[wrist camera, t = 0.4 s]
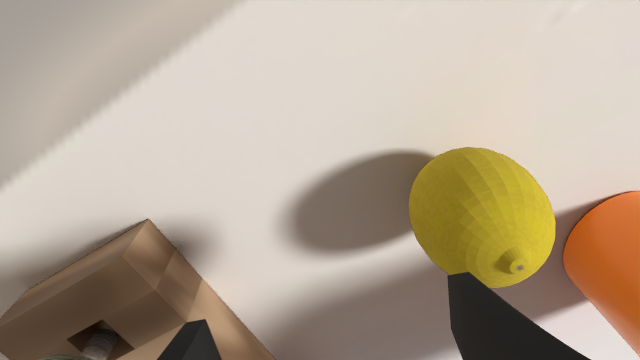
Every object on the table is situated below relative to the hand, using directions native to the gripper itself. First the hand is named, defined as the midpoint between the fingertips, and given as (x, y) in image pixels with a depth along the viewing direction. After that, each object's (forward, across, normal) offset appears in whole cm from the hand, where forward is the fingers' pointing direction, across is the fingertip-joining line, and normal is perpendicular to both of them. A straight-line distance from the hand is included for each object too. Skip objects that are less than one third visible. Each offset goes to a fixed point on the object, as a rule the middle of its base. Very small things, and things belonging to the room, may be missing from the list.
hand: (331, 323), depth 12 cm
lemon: (+10, -7, +1) cm, 12 cm away
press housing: (+10, +11, +10) cm, 18 cm away
